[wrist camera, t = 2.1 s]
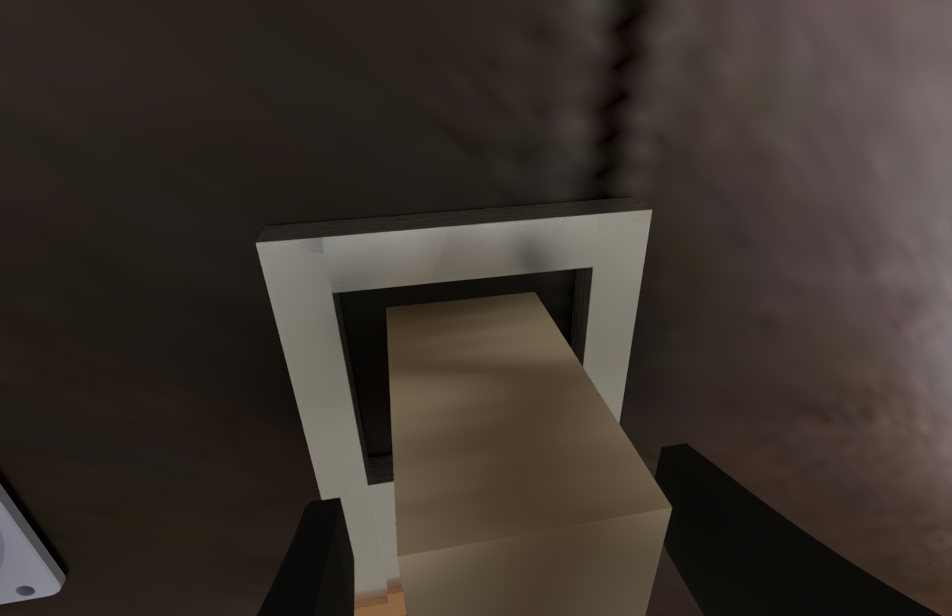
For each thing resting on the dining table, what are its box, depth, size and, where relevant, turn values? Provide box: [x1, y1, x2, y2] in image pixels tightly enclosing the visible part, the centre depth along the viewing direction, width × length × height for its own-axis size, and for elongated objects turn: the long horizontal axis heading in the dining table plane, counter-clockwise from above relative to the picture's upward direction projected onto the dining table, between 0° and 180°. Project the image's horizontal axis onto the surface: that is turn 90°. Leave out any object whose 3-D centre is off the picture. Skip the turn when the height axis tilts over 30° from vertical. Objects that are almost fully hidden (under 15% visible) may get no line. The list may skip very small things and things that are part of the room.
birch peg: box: [386, 292, 672, 616], centre depth 12 cm, size 4×4×8 cm
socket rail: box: [256, 197, 652, 616], centre depth 18 cm, size 10×24×2 cm, turn 1°
